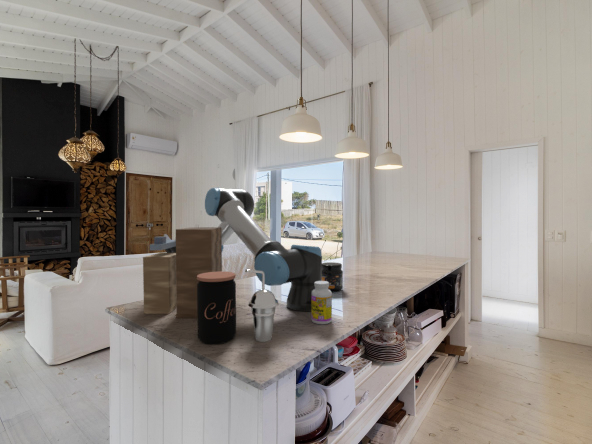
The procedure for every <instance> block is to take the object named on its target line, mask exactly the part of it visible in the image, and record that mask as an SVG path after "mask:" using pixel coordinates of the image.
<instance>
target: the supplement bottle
mask: <svg viewBox="0 0 592 444" xmlns="http://www.w3.org/2000/svg"><path fill="white" fill-rule="evenodd" d="M314 286H315V289H314V290H313V291H312V293H311V311H310V312H311V322H312V323H314V324H318V325H326V324H330V323H331V322H332V319H333V316H332V313H333V310H332V309H333V307H332V305H333V302H332V300H333V292H331V291H330V290H329V289H328V287H329V282H327V281H316V282H315V283H314Z"/></svg>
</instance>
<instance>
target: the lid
mask: <svg viewBox="0 0 592 444" xmlns="http://www.w3.org/2000/svg"><path fill="white" fill-rule="evenodd" d="M153 239H154V240H153V241H154V242H153V243H151V244H149V251H163V250H164V251H165V249H168V248H171V247H175V246H176V241H175V239H171V240H169V241H166V237H164V236H155V237H154V238H153Z"/></svg>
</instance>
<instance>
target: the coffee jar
mask: <svg viewBox="0 0 592 444" xmlns="http://www.w3.org/2000/svg"><path fill="white" fill-rule="evenodd" d="M236 276H237V275H236V273H234V272H232V271H222V272H207V273H202V274H199V275H197V280H198V281H199V282H198V284H197V318H196V319H197V320H196V321H197V322H196V323H197V324H196V325H197V339H199V341H200V342H201V343H203V344H205V345H220V344H221V345H222V344H226V343H228V342H230V341H232V340H234V337H235V335H237V290H236V289H237V288H236V287H237V286H236V284H237V283H236V281H235V278H236Z"/></svg>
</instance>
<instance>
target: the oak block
mask: <svg viewBox="0 0 592 444" xmlns="http://www.w3.org/2000/svg"><path fill="white" fill-rule="evenodd" d="M142 269H143V271H142V272H143V273H142V275H143V277H142V278H143V281H142V283H143V284H142V285H143V288H142V289H143V314H145V315H146V314H147V315H148V314H150V315H153V314H154V315H155V314H157V315H159V314H161V315H162V314H163V315H164V314H165V315H166V314H167V315H170V314H171V313H172V312H174V311H175V310H177V287H176V253H167V252H157V253H154V254H149V255H146V256H143V257H142Z"/></svg>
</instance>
